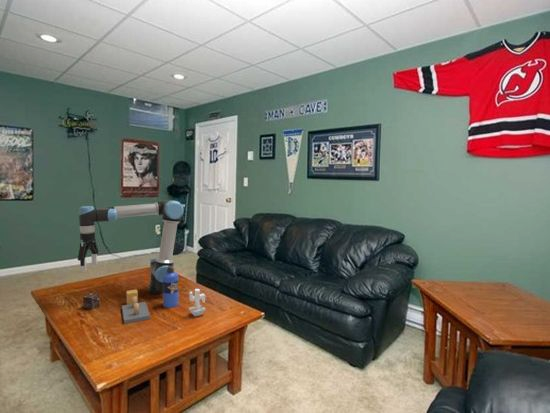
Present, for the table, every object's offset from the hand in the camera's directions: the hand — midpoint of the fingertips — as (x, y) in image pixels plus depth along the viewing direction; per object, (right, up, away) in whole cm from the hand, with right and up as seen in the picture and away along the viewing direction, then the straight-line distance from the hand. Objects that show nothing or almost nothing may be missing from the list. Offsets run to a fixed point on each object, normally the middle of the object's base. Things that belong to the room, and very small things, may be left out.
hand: (89, 267), depth 181 cm
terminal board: (+30, -26, -4) cm, 40 cm away
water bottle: (+46, -25, +9) cm, 53 cm away
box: (-1, -25, +3) cm, 25 cm away
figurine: (+65, -27, -4) cm, 71 cm away
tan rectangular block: (+21, -25, +9) cm, 34 cm away
